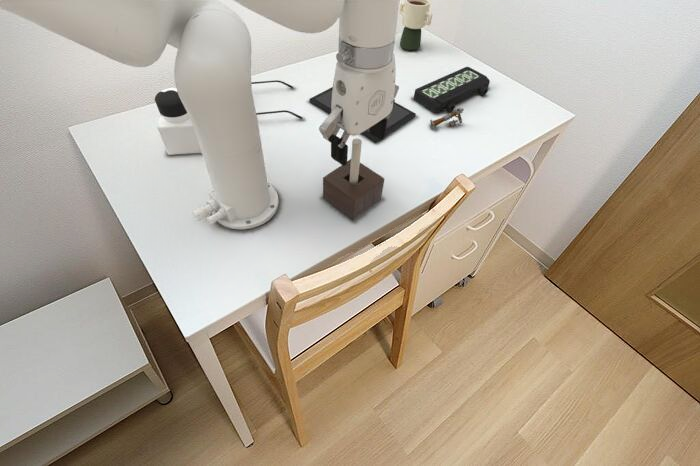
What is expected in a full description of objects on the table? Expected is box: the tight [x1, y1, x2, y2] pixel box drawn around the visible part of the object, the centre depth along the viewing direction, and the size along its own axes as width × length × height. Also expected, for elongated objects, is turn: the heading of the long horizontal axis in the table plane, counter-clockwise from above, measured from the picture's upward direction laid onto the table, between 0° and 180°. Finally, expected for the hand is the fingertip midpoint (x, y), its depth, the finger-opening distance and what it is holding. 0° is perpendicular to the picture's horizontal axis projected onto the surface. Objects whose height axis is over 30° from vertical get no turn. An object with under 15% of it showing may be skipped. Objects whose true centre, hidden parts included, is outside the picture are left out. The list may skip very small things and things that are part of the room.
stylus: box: [349, 138, 363, 186], centre depth 70 cm, size 2×2×14 cm
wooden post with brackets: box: [429, 107, 465, 130], centre depth 91 cm, size 2×8×4 cm, turn 105°
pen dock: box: [322, 158, 385, 221], centre depth 73 cm, size 8×8×6 cm
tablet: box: [308, 86, 417, 144], centre depth 94 cm, size 15×22×1 cm
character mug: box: [398, 0, 433, 51], centre depth 111 cm, size 11×7×13 cm, turn 48°
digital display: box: [413, 66, 491, 114], centre depth 100 cm, size 21×3×10 cm
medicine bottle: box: [154, 87, 202, 156], centre depth 78 cm, size 7×7×12 cm
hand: (358, 148), depth 66 cm, fingers open, 9 cm apart
